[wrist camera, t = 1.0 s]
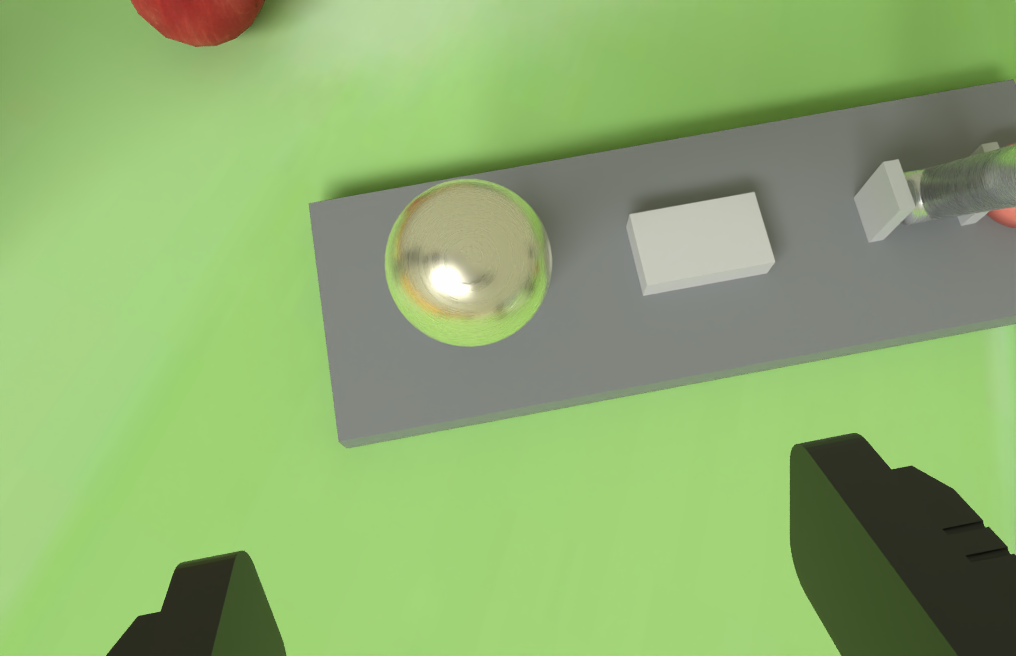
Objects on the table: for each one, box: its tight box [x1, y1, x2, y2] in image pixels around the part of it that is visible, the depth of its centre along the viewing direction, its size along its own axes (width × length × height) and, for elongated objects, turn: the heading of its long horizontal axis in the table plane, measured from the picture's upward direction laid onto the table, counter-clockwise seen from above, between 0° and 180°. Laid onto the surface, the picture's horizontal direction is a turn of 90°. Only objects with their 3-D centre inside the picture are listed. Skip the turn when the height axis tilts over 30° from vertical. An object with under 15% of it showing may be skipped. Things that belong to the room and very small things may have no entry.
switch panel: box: [309, 79, 1016, 448], centre depth 34 cm, size 10×30×4 cm, turn 101°
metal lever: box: [385, 179, 552, 347], centre depth 25 cm, size 4×4×17 cm
